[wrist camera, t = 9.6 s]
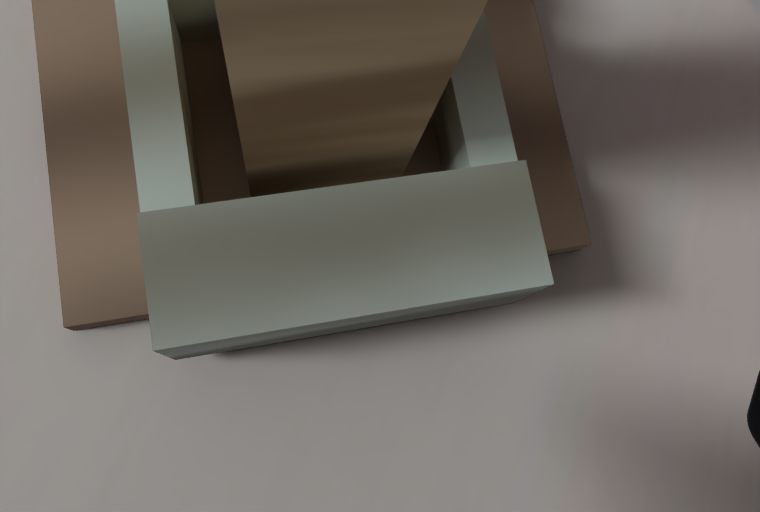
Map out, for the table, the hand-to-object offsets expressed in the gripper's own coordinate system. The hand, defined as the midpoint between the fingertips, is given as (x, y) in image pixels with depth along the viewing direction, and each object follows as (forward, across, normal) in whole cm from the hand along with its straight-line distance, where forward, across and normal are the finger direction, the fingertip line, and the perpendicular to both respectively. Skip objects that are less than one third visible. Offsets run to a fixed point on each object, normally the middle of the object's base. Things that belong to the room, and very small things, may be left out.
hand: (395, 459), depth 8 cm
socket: (+14, -1, +1) cm, 14 cm away
